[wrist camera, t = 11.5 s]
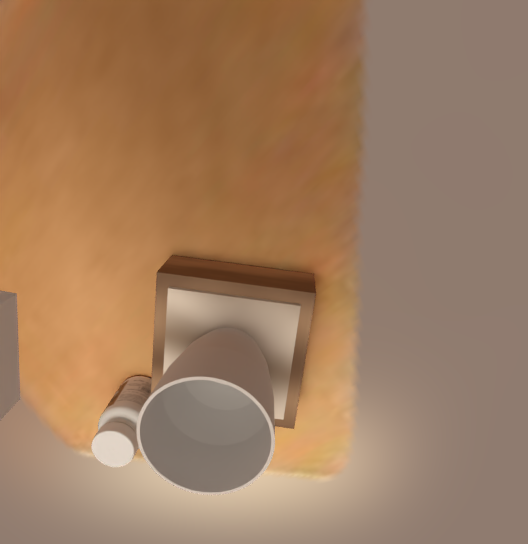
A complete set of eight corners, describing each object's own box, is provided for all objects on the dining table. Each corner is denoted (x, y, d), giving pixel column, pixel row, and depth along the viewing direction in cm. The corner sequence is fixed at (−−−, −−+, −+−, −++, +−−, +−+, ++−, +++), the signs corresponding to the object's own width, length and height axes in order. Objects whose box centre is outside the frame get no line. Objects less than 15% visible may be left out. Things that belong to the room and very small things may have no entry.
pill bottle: (117, 373, 44) (81, 425, 37) (164, 374, 44) (137, 426, 37) (122, 414, 46) (88, 471, 38) (167, 416, 45) (142, 474, 38)
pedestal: (171, 255, 40) (155, 273, 36) (314, 274, 40) (316, 295, 35) (164, 379, 44) (148, 411, 39) (294, 397, 44) (293, 431, 39)
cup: (200, 412, 39) (169, 507, 30) (160, 325, 37) (113, 398, 27) (294, 386, 38) (293, 477, 28) (259, 294, 36) (245, 360, 26)
